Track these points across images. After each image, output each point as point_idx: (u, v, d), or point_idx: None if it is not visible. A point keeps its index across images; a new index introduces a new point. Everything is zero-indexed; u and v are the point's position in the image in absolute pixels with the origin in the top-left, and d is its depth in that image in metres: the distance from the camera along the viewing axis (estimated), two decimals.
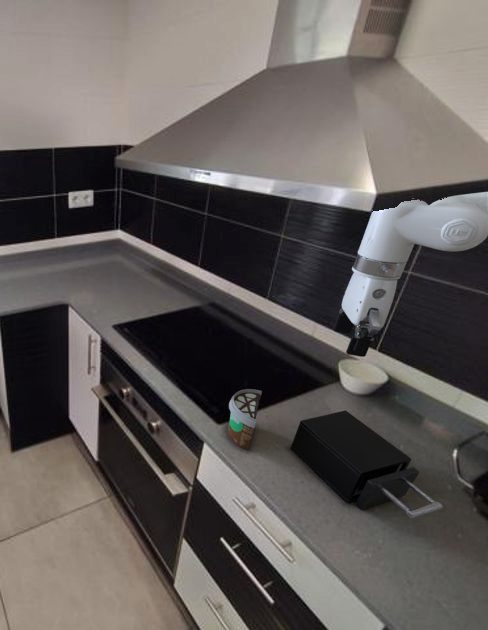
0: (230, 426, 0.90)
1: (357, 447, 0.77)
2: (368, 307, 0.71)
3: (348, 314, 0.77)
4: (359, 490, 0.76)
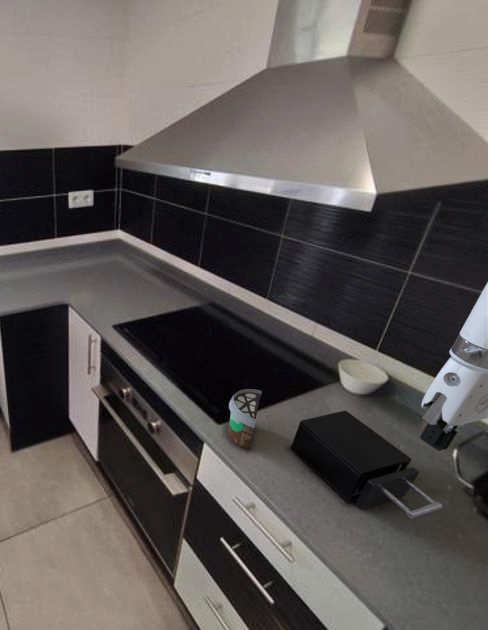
0: (230, 426, 0.90)
1: (357, 447, 0.77)
2: (435, 390, 0.59)
3: None
4: (359, 490, 0.76)
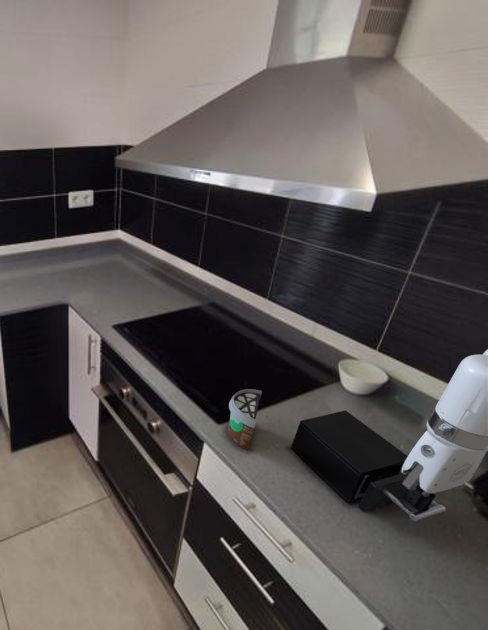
0: (230, 426, 0.90)
1: (357, 447, 0.77)
2: (414, 459, 0.63)
3: None
4: (361, 492, 0.75)
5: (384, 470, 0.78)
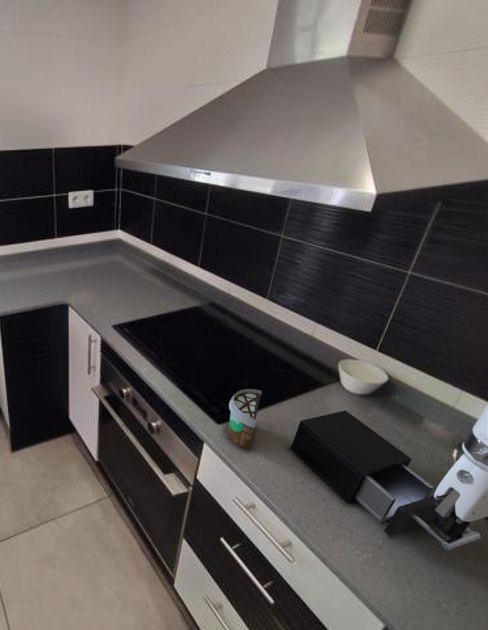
0: (230, 426, 0.90)
1: (357, 447, 0.77)
2: (448, 485, 0.59)
3: None
4: (387, 515, 0.71)
5: (410, 491, 0.73)
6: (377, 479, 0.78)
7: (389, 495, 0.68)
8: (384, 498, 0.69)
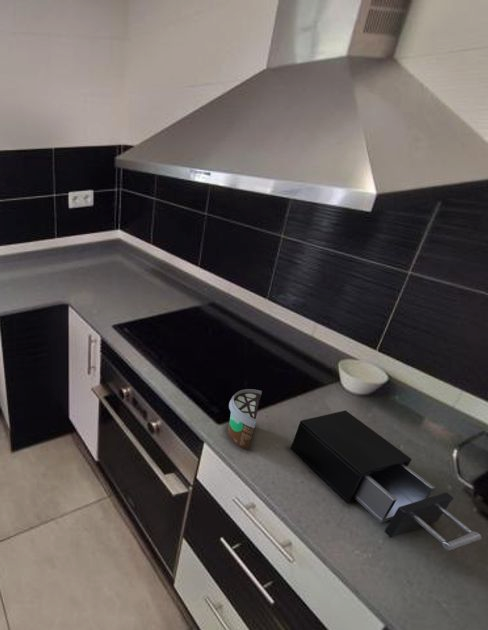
0: (230, 426, 0.90)
1: (357, 447, 0.77)
2: None
3: None
4: (388, 516, 0.71)
5: (411, 492, 0.73)
6: (377, 479, 0.78)
7: (390, 495, 0.68)
8: (385, 498, 0.69)
